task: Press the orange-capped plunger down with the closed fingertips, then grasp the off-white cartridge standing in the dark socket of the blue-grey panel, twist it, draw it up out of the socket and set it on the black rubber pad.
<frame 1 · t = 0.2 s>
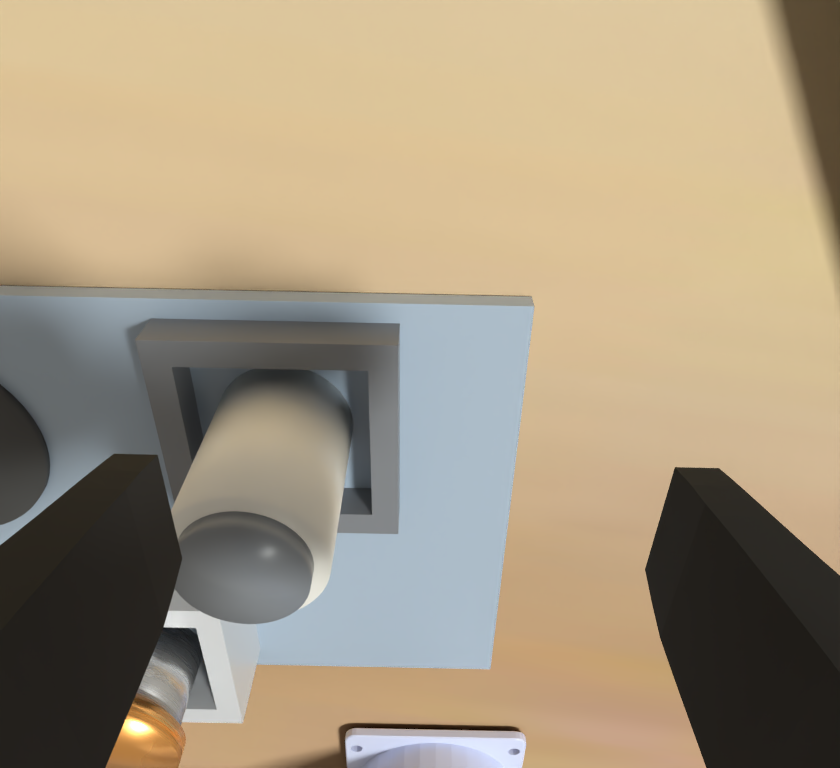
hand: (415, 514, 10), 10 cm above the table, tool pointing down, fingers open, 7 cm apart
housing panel: (182, 503, 23), on the table
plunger: (129, 696, 22), point 5 cm above the table, slide at 0.0 cm
cartridge: (286, 421, 20), point 1 cm above the table, touching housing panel
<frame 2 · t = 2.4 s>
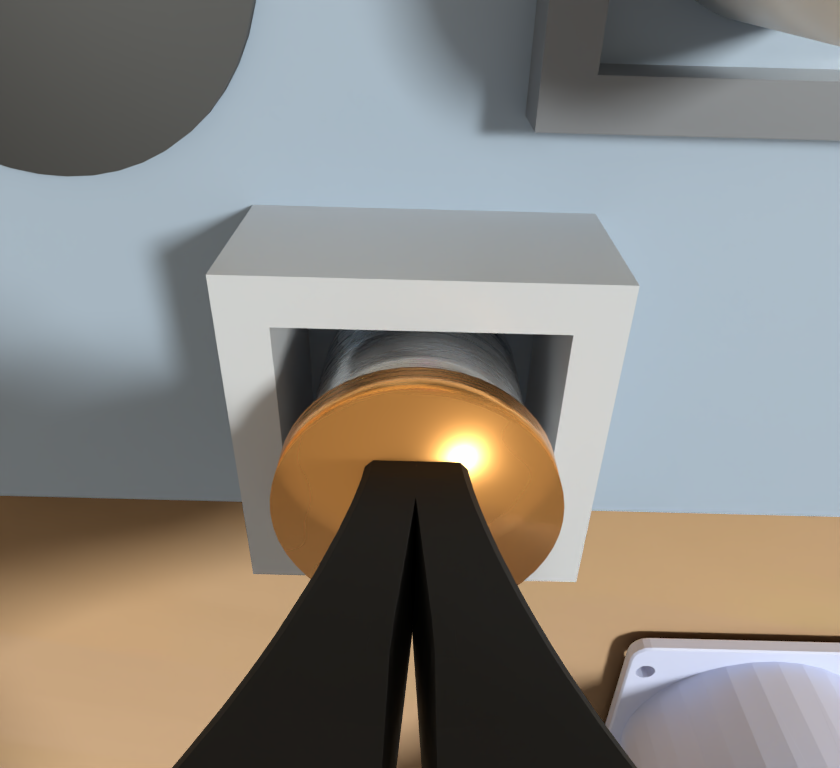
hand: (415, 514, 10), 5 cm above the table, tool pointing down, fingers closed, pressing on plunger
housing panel: (483, 143, 12), on the table
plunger: (418, 438, 11), point 3 cm above the table, slide at 1.3 cm, touching gripper
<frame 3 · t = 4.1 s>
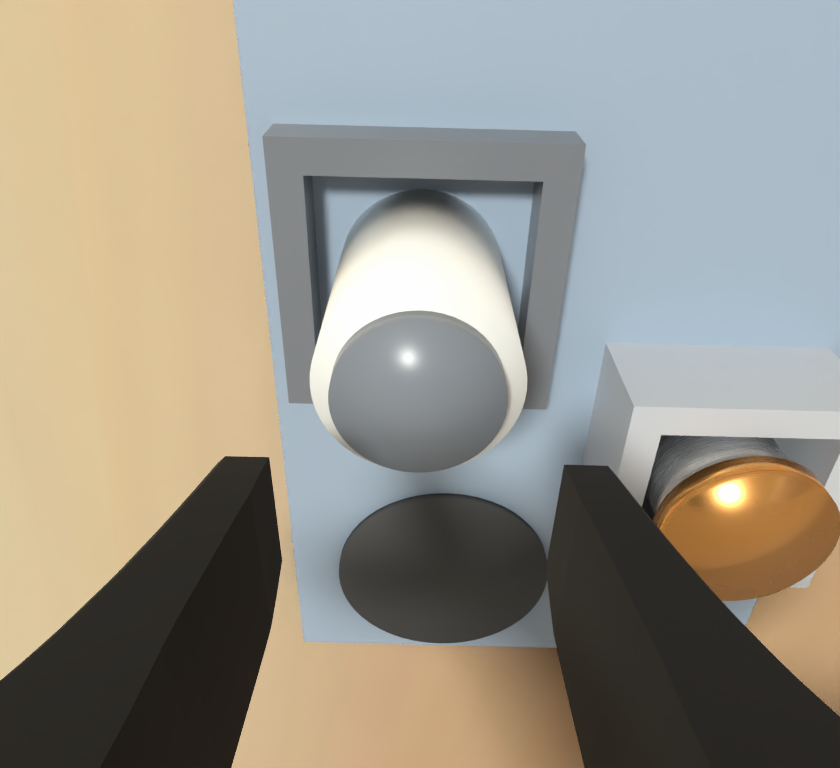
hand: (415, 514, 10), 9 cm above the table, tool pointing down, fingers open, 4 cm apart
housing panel: (555, 391, 20), on the table
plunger: (720, 490, 18), point 3 cm above the table, slide at 1.5 cm
rubber pad: (442, 570, 23), resting on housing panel
cartridge: (421, 268, 17), point 1 cm above the table, touching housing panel
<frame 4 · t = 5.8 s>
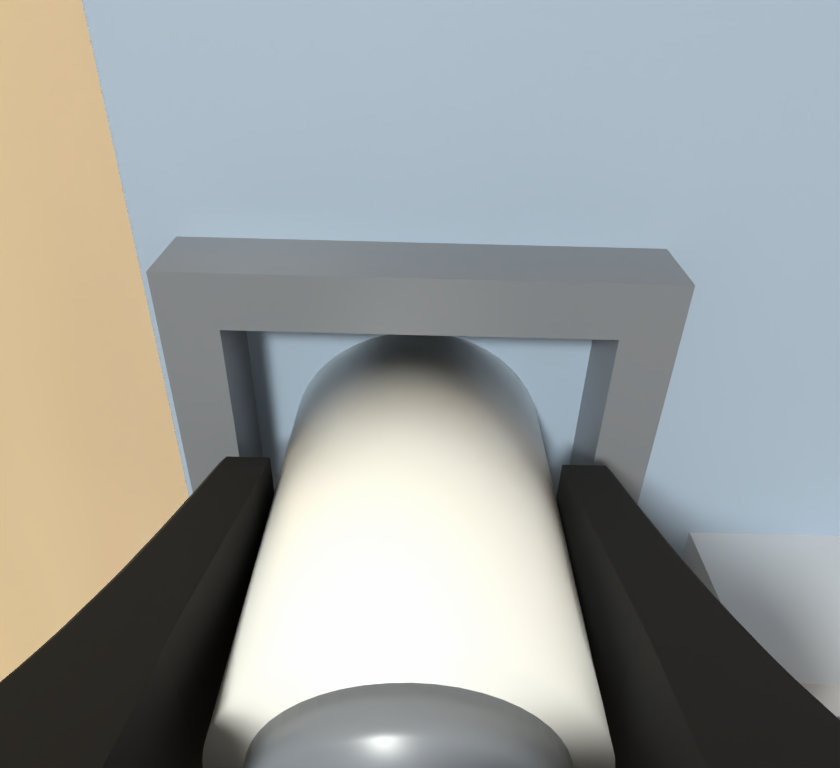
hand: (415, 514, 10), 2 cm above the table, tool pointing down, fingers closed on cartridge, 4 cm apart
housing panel: (608, 580, 14), on the table
cartridge: (416, 437, 11), point 1 cm above the table, touching gripper, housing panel
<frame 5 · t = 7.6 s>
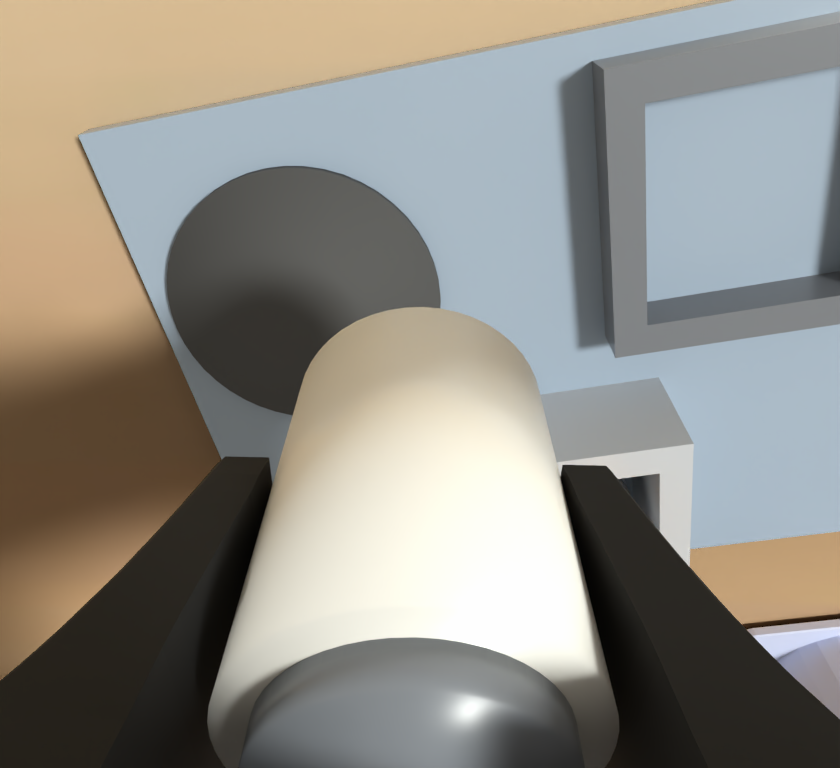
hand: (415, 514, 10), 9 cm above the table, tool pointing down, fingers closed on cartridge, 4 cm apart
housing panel: (579, 346, 19), on the table
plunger: (572, 530, 19), point 3 cm above the table, slide at 1.5 cm
rubber pad: (306, 301, 18), resting on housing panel
cartridge: (419, 415, 11), point 7 cm above the table, touching gripper
when the fingers open (3 cm above the table, at t = 9.3 s): cartridge stays where it is, resting on rubber pad.
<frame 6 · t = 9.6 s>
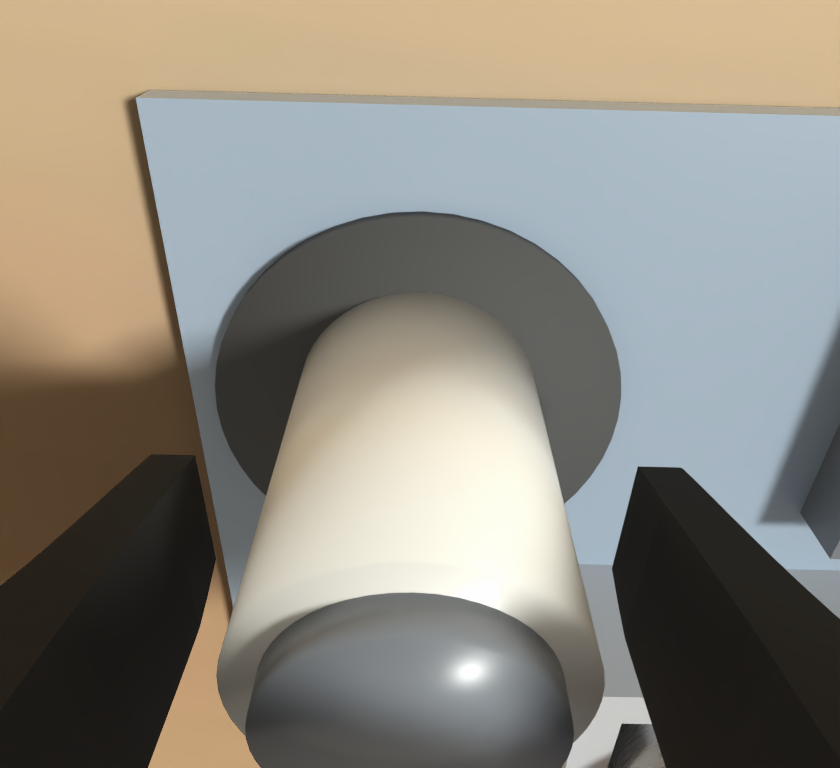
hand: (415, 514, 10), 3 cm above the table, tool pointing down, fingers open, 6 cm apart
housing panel: (749, 513, 14), on the table
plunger: (702, 759, 14), point 3 cm above the table, slide at 1.5 cm
rubber pad: (417, 403, 12), resting on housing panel
cartridge: (417, 398, 12), point 1 cm above the table, touching rubber pad
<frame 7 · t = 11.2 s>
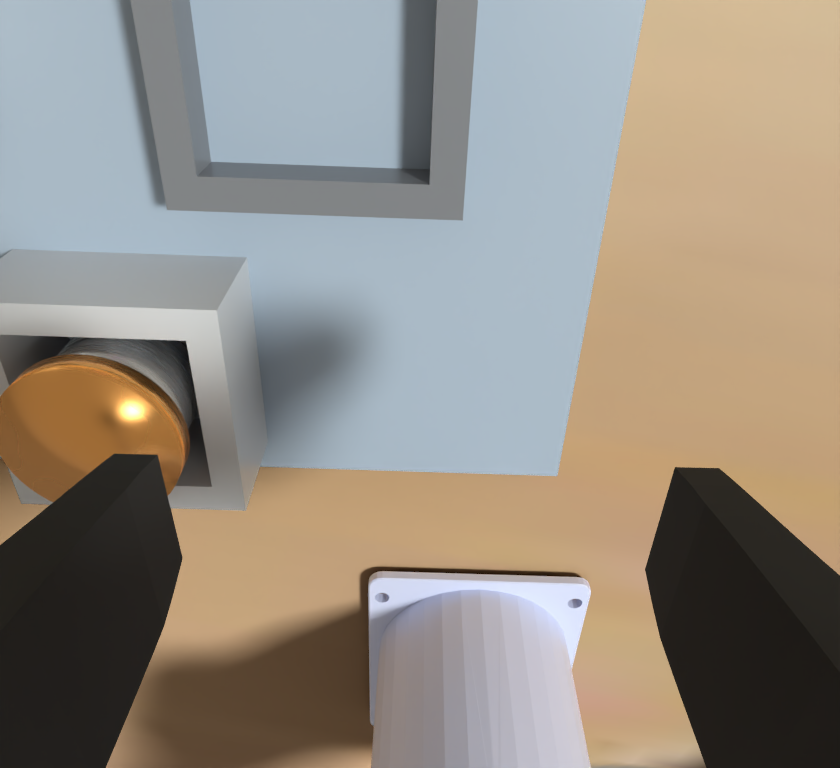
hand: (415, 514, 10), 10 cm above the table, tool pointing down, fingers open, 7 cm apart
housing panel: (170, 208, 17), on the table
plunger: (118, 402, 17), point 3 cm above the table, slide at 1.5 cm
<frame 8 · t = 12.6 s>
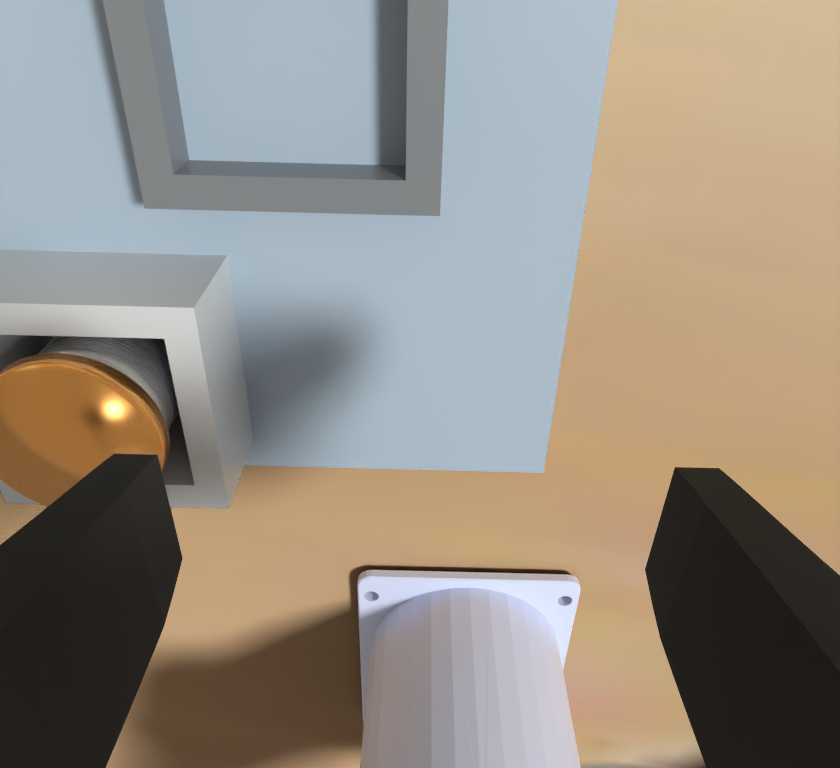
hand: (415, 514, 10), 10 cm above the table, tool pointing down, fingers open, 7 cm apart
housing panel: (150, 207, 18), on the table
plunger: (100, 401, 17), point 3 cm above the table, slide at 1.5 cm
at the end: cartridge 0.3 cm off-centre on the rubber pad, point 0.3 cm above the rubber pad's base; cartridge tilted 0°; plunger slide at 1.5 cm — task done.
